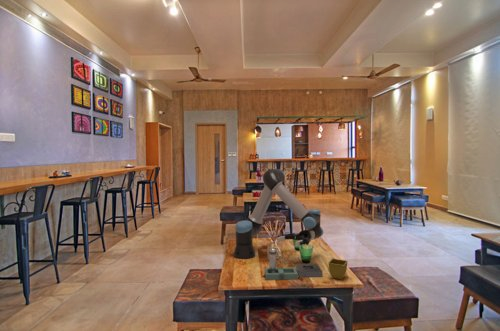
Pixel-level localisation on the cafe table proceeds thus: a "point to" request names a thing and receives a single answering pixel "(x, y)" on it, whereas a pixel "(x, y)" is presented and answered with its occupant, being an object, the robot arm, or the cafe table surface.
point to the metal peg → (272, 260)
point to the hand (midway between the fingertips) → (286, 242)
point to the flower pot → (337, 268)
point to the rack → (281, 274)
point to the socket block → (308, 270)
